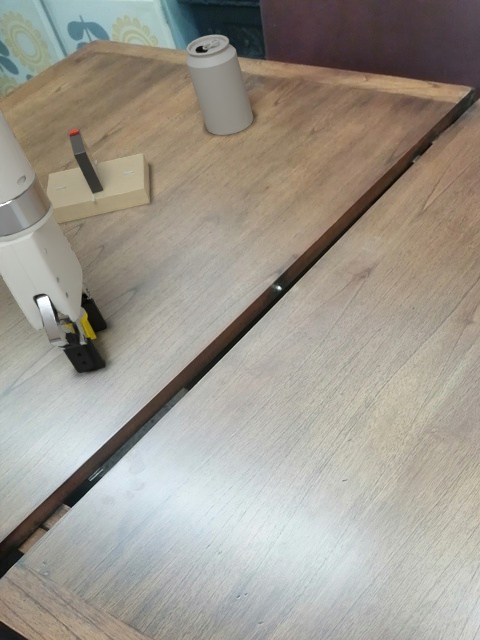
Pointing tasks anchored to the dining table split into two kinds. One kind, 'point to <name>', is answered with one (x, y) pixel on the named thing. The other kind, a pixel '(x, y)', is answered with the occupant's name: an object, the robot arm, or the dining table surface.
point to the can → (219, 84)
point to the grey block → (85, 160)
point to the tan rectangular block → (118, 191)
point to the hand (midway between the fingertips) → (92, 347)
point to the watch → (83, 324)
